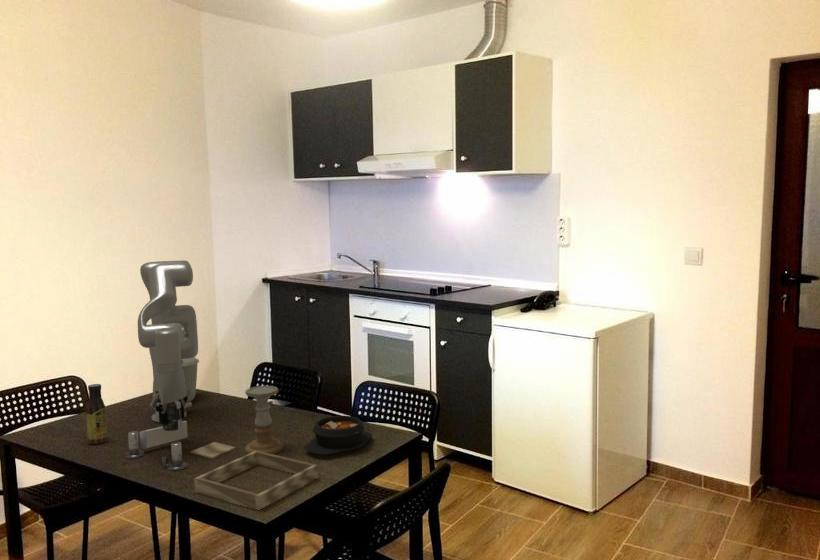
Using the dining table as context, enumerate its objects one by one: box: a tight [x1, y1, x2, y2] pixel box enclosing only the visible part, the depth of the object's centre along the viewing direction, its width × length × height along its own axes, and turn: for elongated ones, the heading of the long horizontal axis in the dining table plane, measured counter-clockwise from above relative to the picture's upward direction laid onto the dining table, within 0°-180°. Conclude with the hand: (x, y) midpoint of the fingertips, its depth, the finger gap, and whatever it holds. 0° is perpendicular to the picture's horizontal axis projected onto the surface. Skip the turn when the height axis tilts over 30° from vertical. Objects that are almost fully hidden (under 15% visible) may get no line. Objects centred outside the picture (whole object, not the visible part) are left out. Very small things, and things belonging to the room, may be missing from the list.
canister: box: [181, 356, 200, 403], centre depth 279 cm, size 18×18×21 cm
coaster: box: [190, 441, 237, 460], centre depth 224 cm, size 10×10×1 cm
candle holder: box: [244, 385, 284, 455], centre depth 223 cm, size 12×12×20 cm
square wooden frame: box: [193, 451, 319, 511], centre depth 196 cm, size 24×24×4 cm
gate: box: [139, 420, 189, 450], centre depth 228 cm, size 16×2×6 cm, turn 134°
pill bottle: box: [162, 400, 183, 431], centre depth 220 cm, size 6×6×11 cm
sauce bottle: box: [85, 383, 108, 445], centre depth 233 cm, size 6×6×20 cm
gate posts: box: [124, 430, 188, 472], centre depth 216 cm, size 26×6×8 cm, turn 59°
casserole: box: [303, 415, 373, 456], centre depth 225 cm, size 25×19×8 cm
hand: (172, 420), depth 221 cm, fingers closed on pill bottle, 6 cm apart
